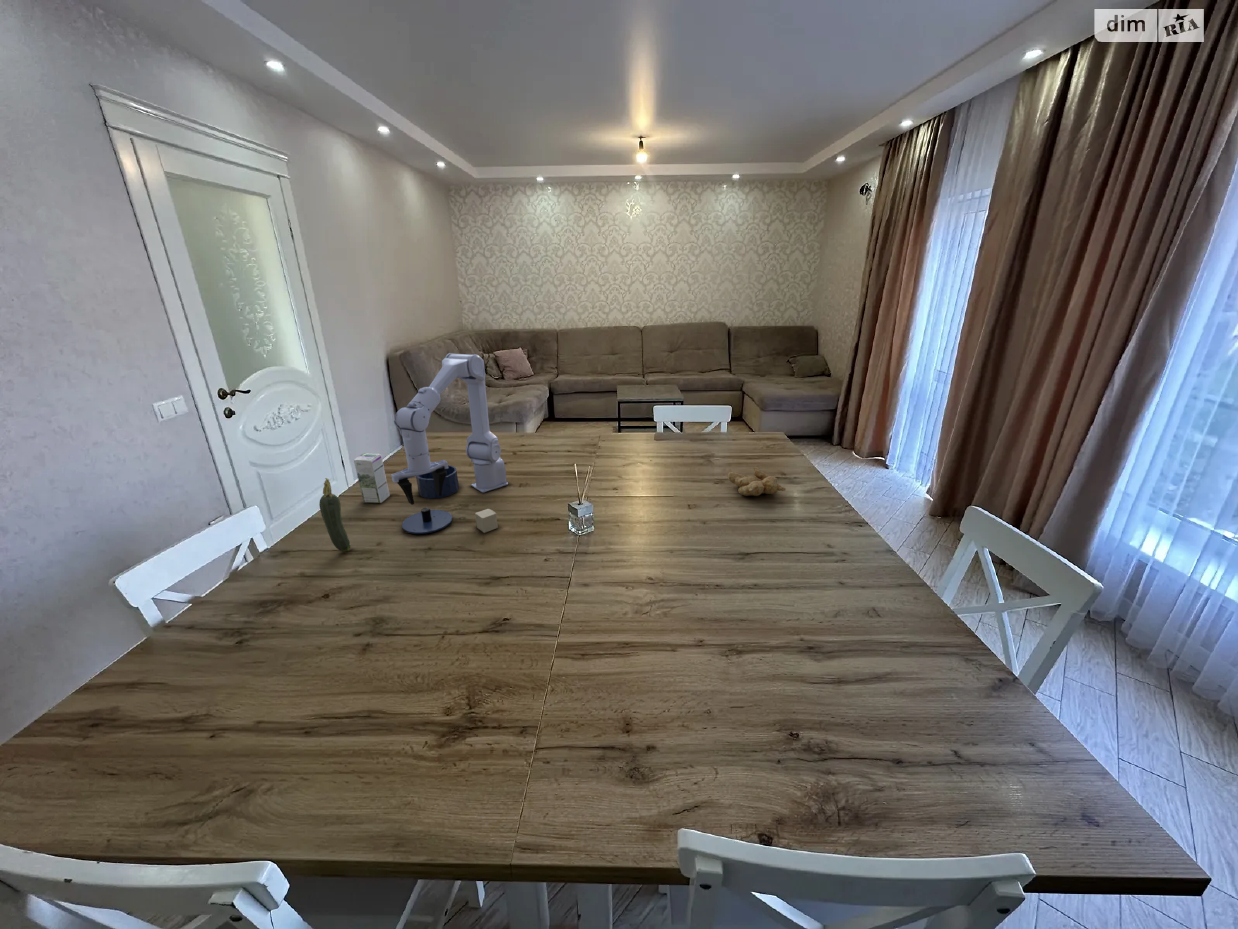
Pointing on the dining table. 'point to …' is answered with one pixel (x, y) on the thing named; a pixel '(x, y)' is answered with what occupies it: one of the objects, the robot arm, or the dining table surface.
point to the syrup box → (372, 478)
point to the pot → (428, 486)
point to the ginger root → (755, 483)
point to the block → (486, 520)
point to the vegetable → (333, 518)
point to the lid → (427, 521)
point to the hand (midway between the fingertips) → (425, 498)
